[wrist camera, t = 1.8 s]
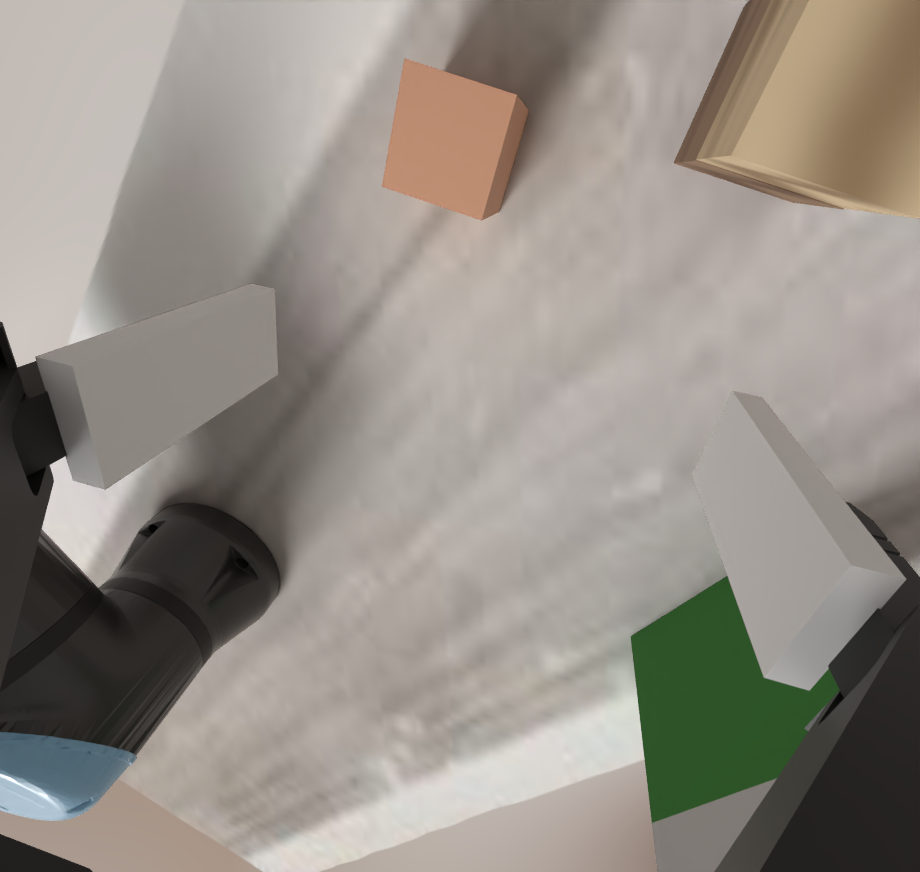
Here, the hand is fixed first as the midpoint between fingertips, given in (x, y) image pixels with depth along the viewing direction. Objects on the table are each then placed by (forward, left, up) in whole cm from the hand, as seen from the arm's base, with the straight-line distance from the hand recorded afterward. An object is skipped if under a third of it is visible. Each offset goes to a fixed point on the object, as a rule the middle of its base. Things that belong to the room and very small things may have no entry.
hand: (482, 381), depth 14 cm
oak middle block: (+9, +11, -15) cm, 20 cm away
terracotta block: (-6, +5, -21) cm, 22 cm away
